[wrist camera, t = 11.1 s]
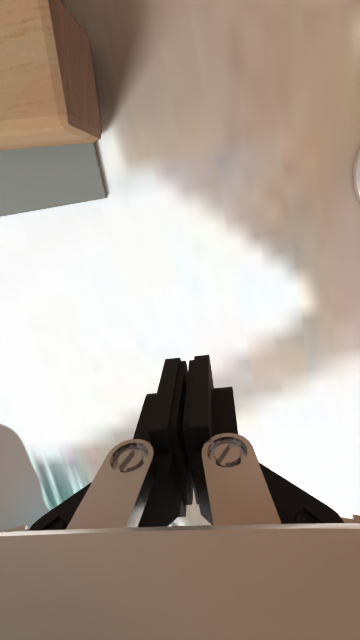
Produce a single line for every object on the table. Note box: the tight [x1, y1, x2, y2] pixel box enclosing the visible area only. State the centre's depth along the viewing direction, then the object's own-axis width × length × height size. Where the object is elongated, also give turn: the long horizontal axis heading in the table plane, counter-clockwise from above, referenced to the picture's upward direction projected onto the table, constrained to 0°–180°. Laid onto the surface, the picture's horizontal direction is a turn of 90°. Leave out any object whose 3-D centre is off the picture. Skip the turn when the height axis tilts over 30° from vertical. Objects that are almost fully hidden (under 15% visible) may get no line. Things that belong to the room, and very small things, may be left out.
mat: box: [0, 0, 107, 216], centre depth 37 cm, size 20×20×1 cm
